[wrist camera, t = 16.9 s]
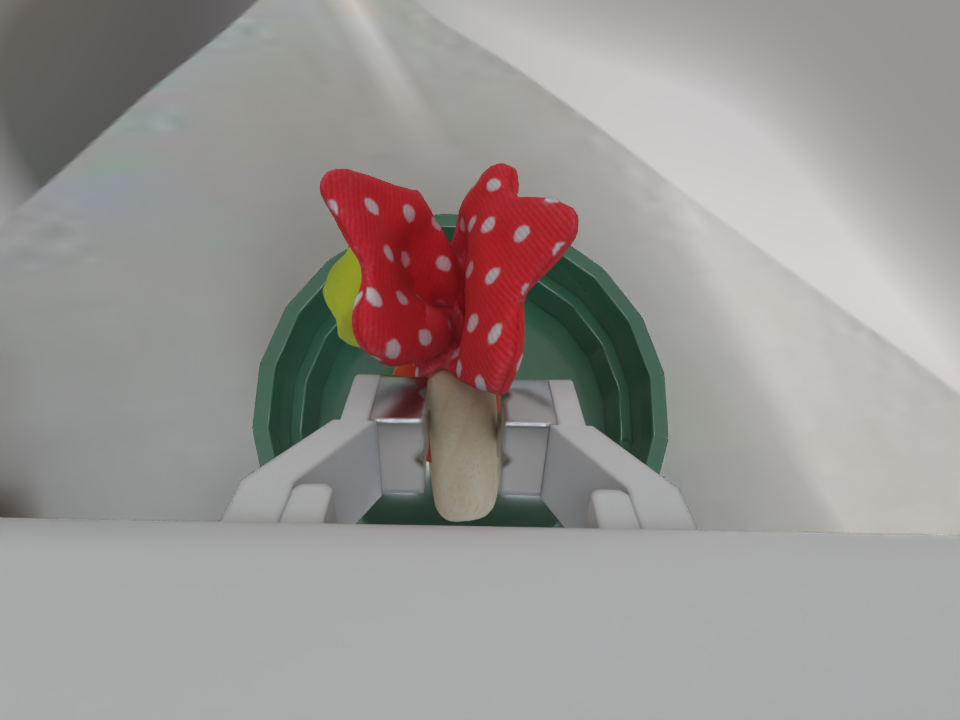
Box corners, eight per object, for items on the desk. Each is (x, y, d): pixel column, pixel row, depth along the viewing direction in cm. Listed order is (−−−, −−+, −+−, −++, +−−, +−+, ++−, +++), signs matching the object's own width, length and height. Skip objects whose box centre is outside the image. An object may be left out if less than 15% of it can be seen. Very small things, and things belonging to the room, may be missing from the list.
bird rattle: (511, 421, 21) (486, 184, 19) (703, 588, 11) (697, 119, 9) (353, 457, 20) (305, 203, 18) (406, 694, 9) (305, 149, 7)
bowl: (631, 596, 24) (681, 627, 18) (282, 591, 23) (228, 622, 18) (617, 273, 27) (655, 220, 22) (314, 264, 27) (278, 207, 21)
